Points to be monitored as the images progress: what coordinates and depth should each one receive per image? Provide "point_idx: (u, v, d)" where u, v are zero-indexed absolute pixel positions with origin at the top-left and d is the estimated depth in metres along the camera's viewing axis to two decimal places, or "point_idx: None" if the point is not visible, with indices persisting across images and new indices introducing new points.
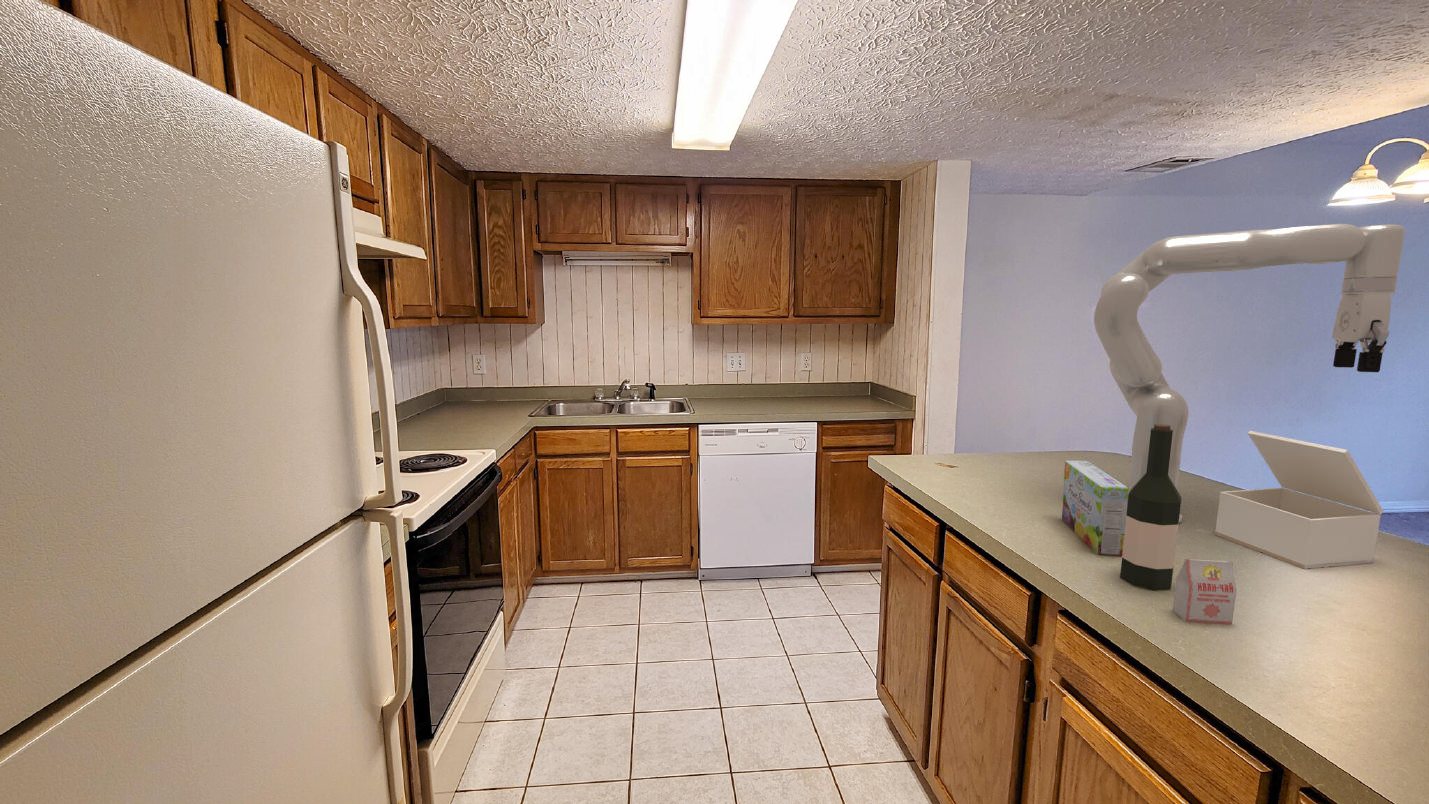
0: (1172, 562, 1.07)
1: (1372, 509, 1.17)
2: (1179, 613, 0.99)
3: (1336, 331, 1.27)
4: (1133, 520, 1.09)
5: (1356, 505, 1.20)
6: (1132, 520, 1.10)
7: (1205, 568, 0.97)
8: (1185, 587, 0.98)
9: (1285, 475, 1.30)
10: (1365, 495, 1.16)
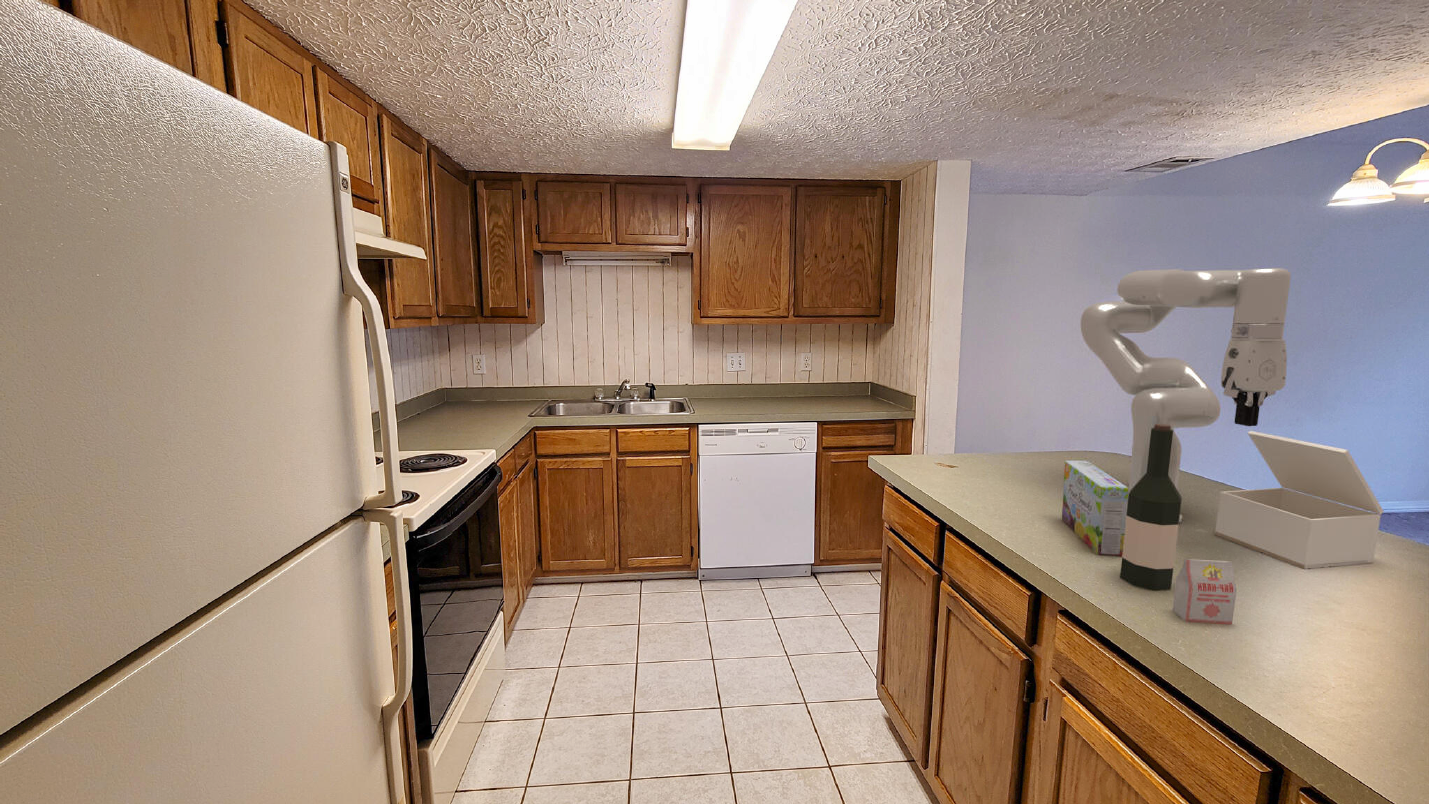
0: (1172, 562, 1.07)
1: (1372, 509, 1.17)
2: (1179, 613, 0.99)
3: (1253, 381, 1.14)
4: (1133, 520, 1.09)
5: (1356, 505, 1.20)
6: (1132, 520, 1.09)
7: (1205, 568, 0.97)
8: (1185, 587, 0.98)
9: (1285, 475, 1.30)
10: (1365, 495, 1.16)
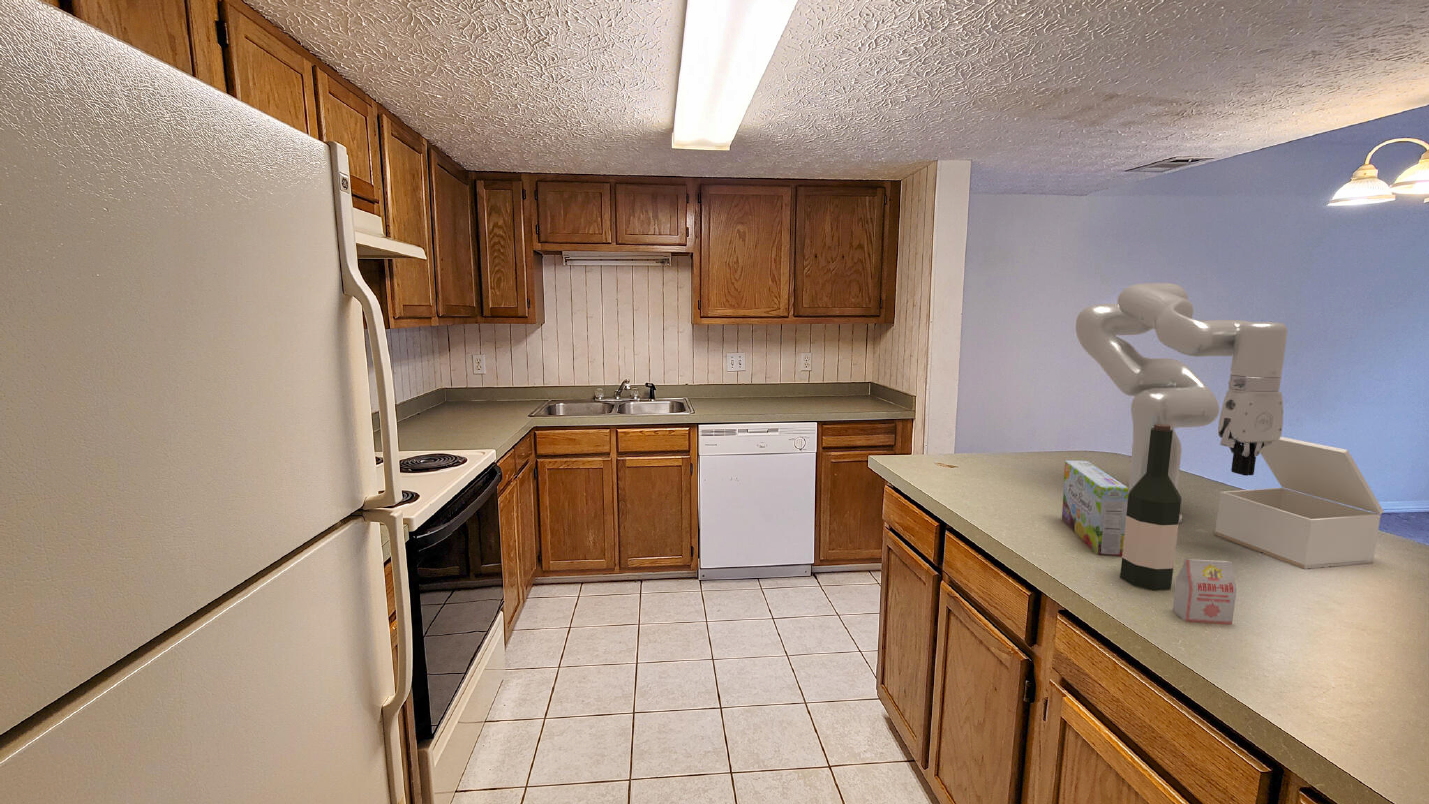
0: (1172, 562, 1.07)
1: (1372, 509, 1.17)
2: (1179, 613, 0.99)
3: (1249, 433, 1.16)
4: (1133, 520, 1.09)
5: (1356, 505, 1.20)
6: (1132, 520, 1.10)
7: (1205, 568, 0.97)
8: (1185, 587, 0.98)
9: (1285, 475, 1.30)
10: (1365, 495, 1.16)
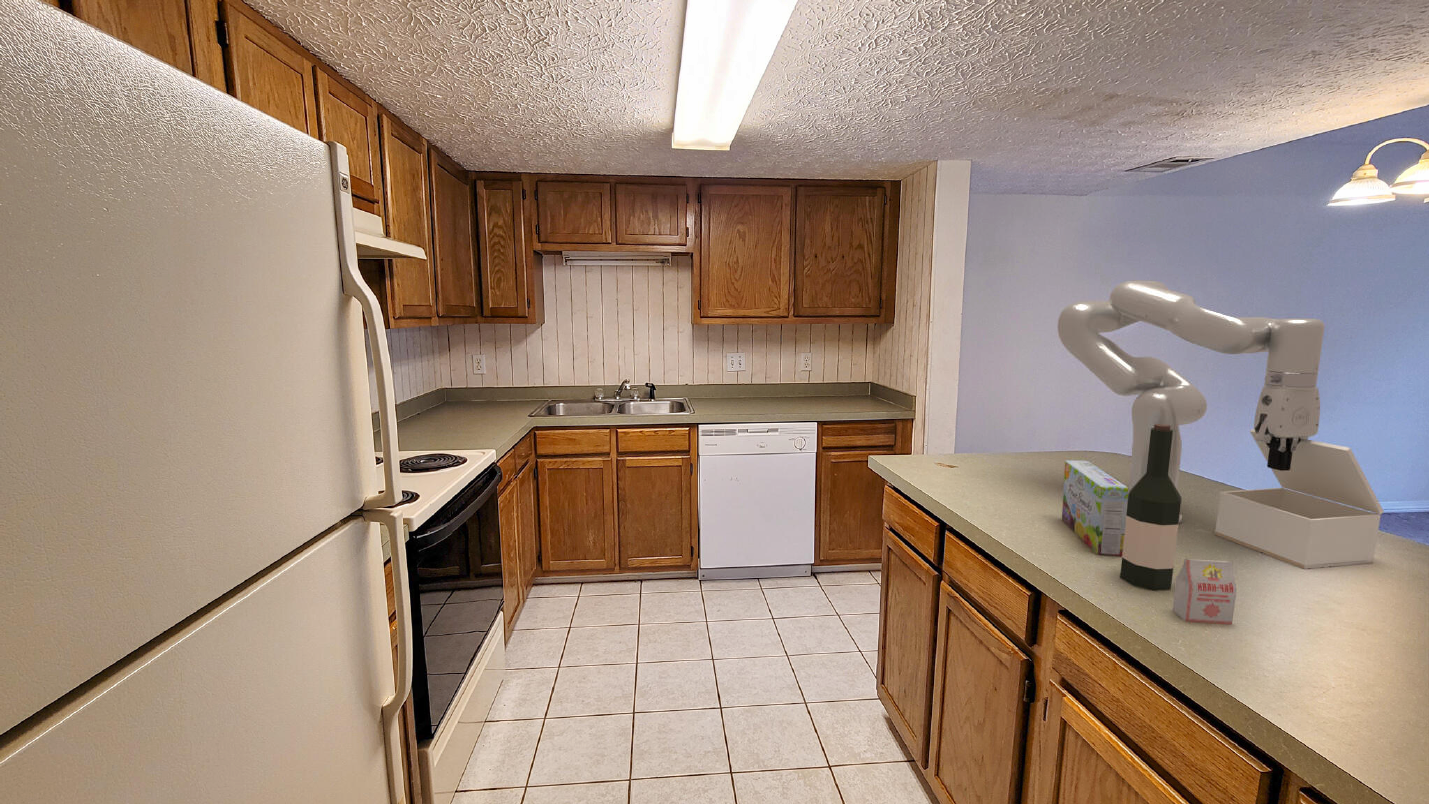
0: (1172, 562, 1.07)
1: (1373, 509, 1.17)
2: (1179, 613, 0.99)
3: (1286, 428, 1.17)
4: (1133, 520, 1.09)
5: (1356, 505, 1.20)
6: (1132, 520, 1.10)
7: (1205, 568, 0.97)
8: (1185, 587, 0.98)
9: (1286, 474, 1.30)
10: (1366, 494, 1.16)
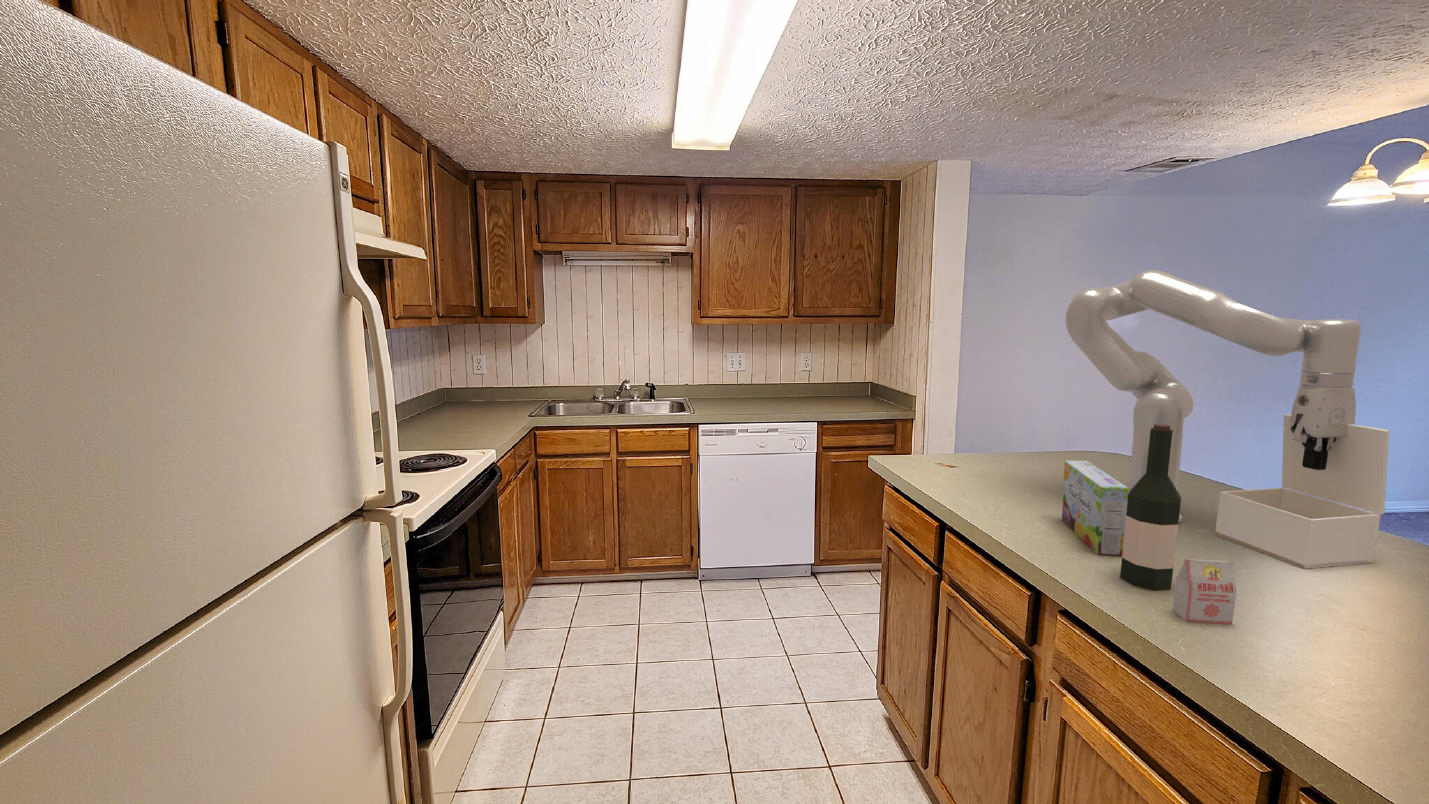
0: (1172, 562, 1.07)
1: (1375, 508, 1.17)
2: (1179, 613, 0.99)
3: (1323, 428, 1.18)
4: (1133, 520, 1.09)
5: (1358, 504, 1.20)
6: (1132, 520, 1.10)
7: (1205, 568, 0.97)
8: (1185, 587, 0.98)
9: (1295, 470, 1.30)
10: (1377, 489, 1.16)
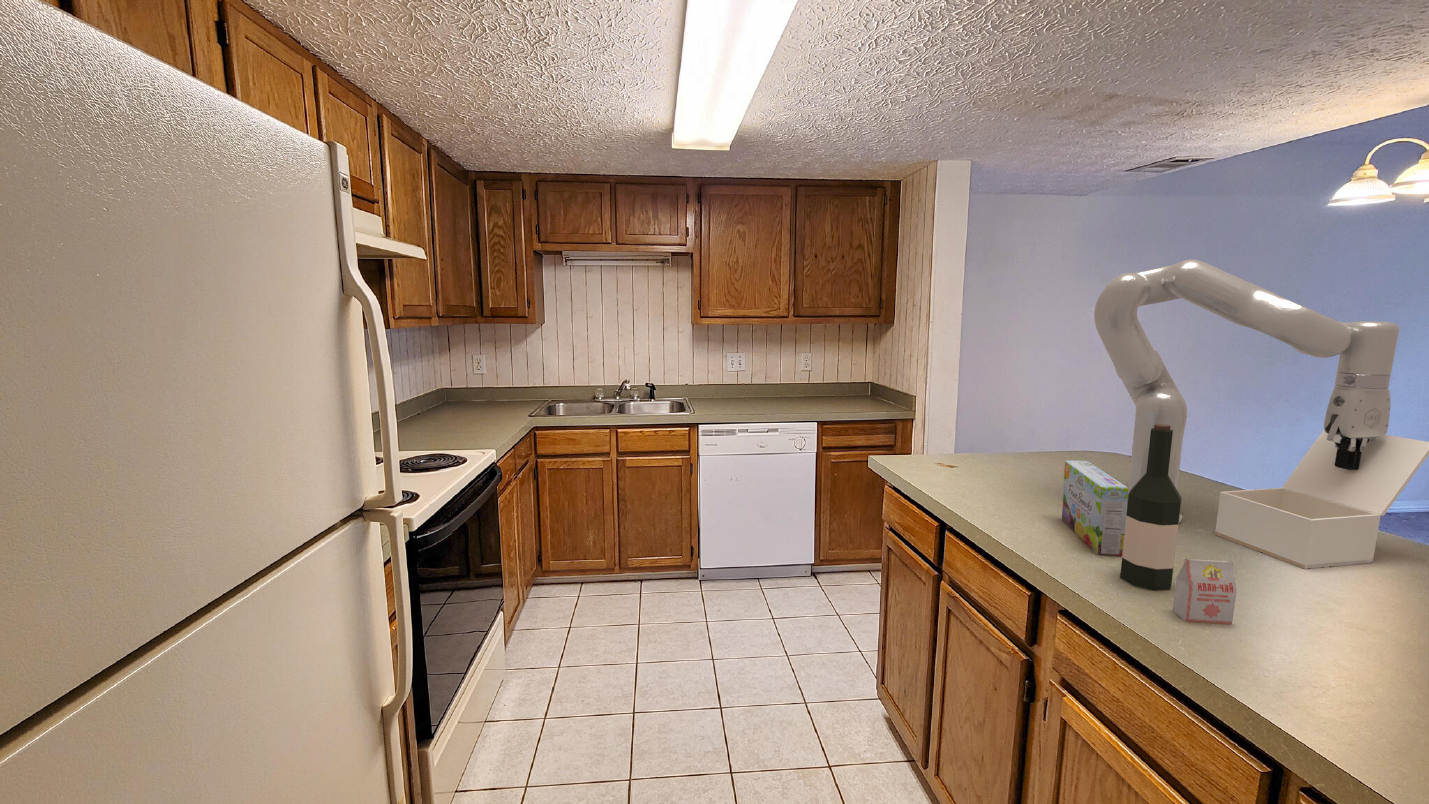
0: (1172, 562, 1.07)
1: (1377, 509, 1.17)
2: (1179, 613, 0.99)
3: (1358, 429, 1.20)
4: (1133, 520, 1.09)
5: (1360, 504, 1.20)
6: (1132, 520, 1.09)
7: (1205, 568, 0.97)
8: (1185, 587, 0.98)
9: (1308, 472, 1.31)
10: (1391, 492, 1.17)
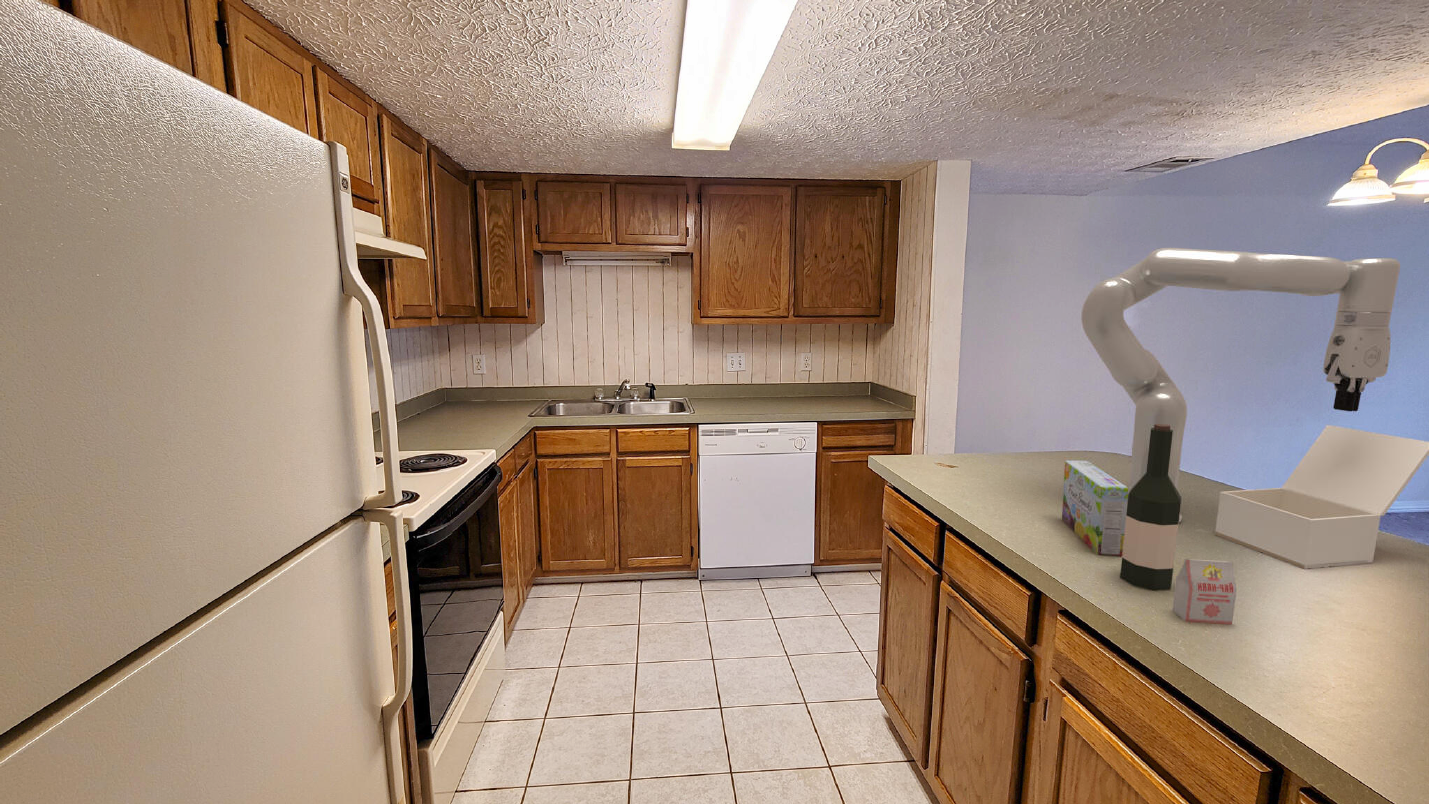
0: (1172, 562, 1.07)
1: (1377, 509, 1.17)
2: (1179, 613, 0.99)
3: (1358, 368, 1.18)
4: (1133, 520, 1.09)
5: (1360, 504, 1.20)
6: (1132, 520, 1.10)
7: (1205, 568, 0.97)
8: (1185, 587, 0.98)
9: (1308, 472, 1.31)
10: (1391, 492, 1.17)
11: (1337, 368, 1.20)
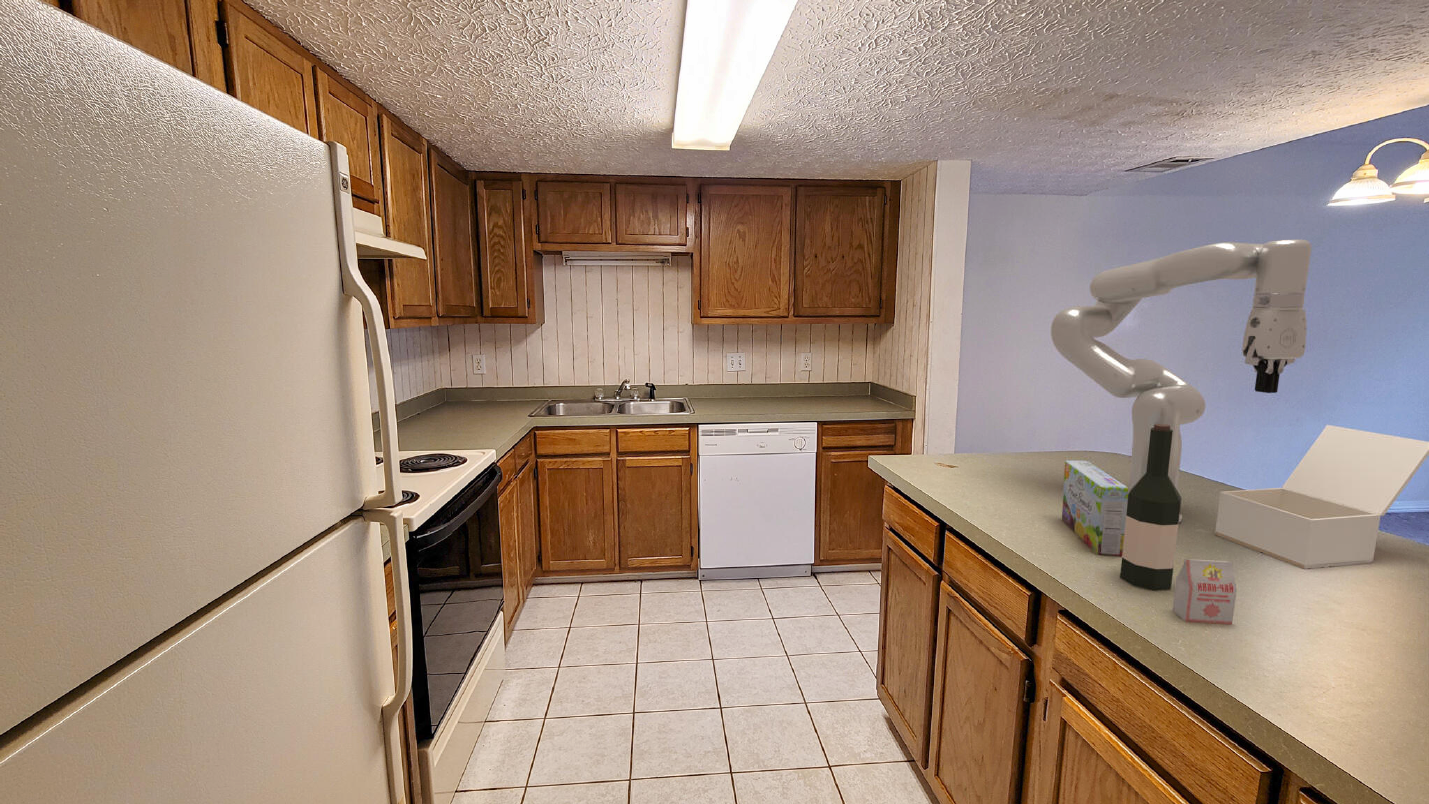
0: (1172, 562, 1.07)
1: (1377, 509, 1.17)
2: (1179, 613, 0.99)
3: (1274, 349, 1.19)
4: (1133, 520, 1.09)
5: (1360, 504, 1.20)
6: (1132, 520, 1.09)
7: (1205, 568, 0.97)
8: (1185, 587, 0.98)
9: (1308, 472, 1.31)
10: (1391, 492, 1.17)
11: (1254, 350, 1.21)
